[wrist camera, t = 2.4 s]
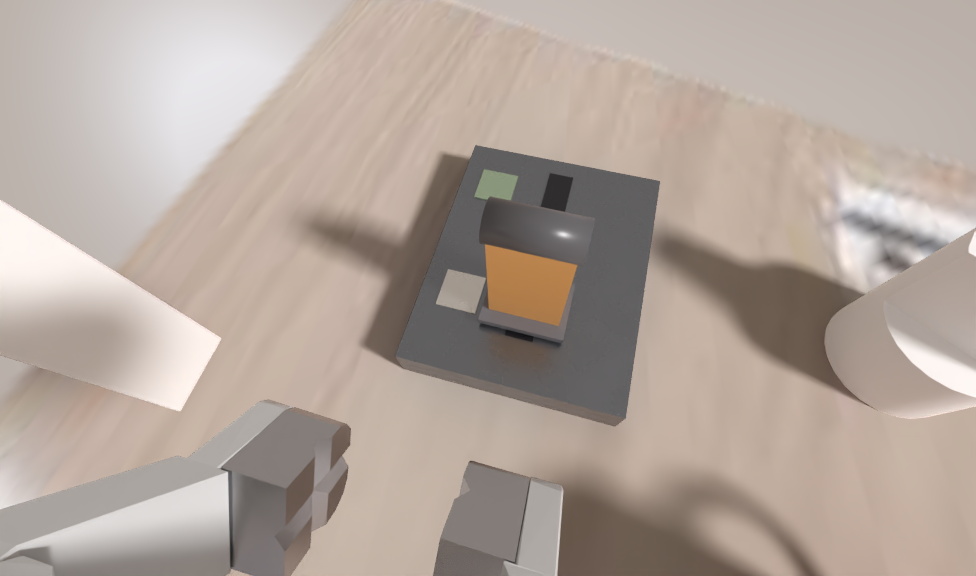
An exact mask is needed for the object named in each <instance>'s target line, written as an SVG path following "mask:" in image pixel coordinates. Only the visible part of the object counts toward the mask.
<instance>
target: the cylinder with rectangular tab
mask: <svg viewBox="0 0 976 576" xmlns="http://www.w3.org/2000/svg"><path fill="white" fill-rule="evenodd" d="M824 343H825V349H826V354H827V358H828V360H829V362H830V364H831V366H832V369H833V371H834V373H835V374H836V375H837V377H838V378H839V379H840V381H841V382H842V383H843V385H844V386H845V387H846V388H847V389H848V390H849V391H851V392H852V393H853V394H854V395H855V396H856V397H857V398H858V399H859V400H861V401H863V402H864V403H866V404H868V405H869V406H871V407H873V408H874V409H876V410H878V411H881V412H884V413H886V414H889V415H892V416H894V417H901V418H909V419H916V418H924V417H931V416H935V415H939V414H944V413H948V412H953V411H957V410H962V409H966V408H970V407H975V406H976V228H975V229H973V230H971V231H970V232H968V233H966V234H965V235H963V236H961V237H960V238H958V239H956V240H955V241H953V242H951V243H950V244H948V245H946V246H945V247H943V248H941V249H940V250H938V251H936V252H935V253H933V254H931V255H930V256H928V257H926V258H925V259H923V260H921V261H920V262H918V263H916V264H915V265H913V266H911V267H910V268H908V269H906V270H905V271H903V272H902V273H900V274H898V275H897V276H895V277H893V278H892V279H890V280H888V281H887V282H885V283H883V284H882V285H880V286H878V287H877V288H875V289H873V290H872V291H870V292H868V293H867V294H865V295H863V296H862V297H860V298H858V299H857V300H855V301H853V302H852V303H850V304H848V305H847V306H845V307H843V308H842V309H840V310H839V311H838V312H837V313H836V314H835V315H834V316H833V317H832V318H831V320H830V322H829V323H828V325H827V327H826V332H825V340H824Z"/></svg>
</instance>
